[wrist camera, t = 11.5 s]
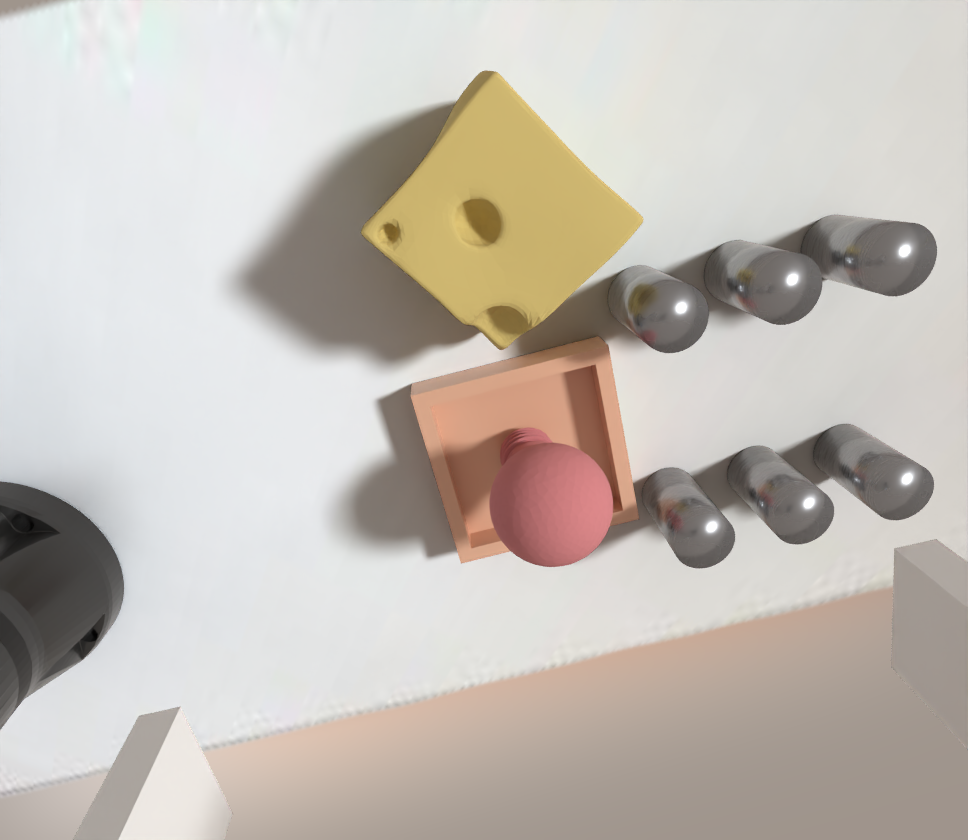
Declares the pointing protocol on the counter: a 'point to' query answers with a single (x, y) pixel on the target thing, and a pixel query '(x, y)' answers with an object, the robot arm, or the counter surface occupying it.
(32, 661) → the robot arm
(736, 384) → the counter surface
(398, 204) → the cheese
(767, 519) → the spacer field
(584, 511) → the light bulb
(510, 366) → the dish
